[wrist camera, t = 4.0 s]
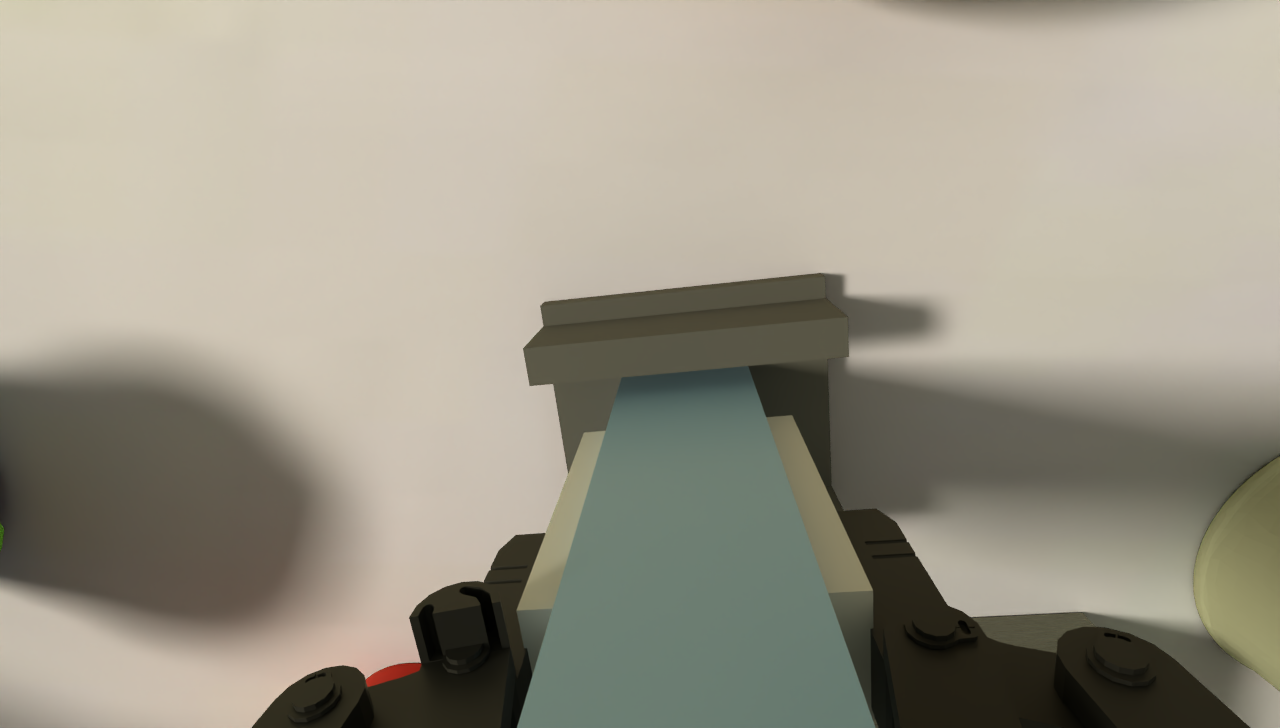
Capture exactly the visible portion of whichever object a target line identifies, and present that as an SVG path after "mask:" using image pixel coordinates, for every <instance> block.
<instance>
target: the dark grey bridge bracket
mask: <svg viewBox="0 0 1280 728" xmlns="http://www.w3.org/2000/svg"><path fill="white" fill-rule="evenodd" d="M540 307H541V313H542V319H543V325H544V327H543V328H542V329H541V330H540V331H539V332H538V333H537V334H536V335H535V336H534V337H533V338H532V340H531V341H530V342H529V343H528V344H527V345H526V346H525V347H524V348H523V351H524V356H525V362H526V368H527V373H528V379H529V384H530V386H534V385H545V384H553V385H554V391H555V397H556V403H557V409H558V415H559V421H560V427H561V433H562V439H563V445H564V451H565V457H566V463H567V469H568V473H569V471H570V468H571V466H572V463H573V460H574V458H575V455H576V452H577V450H578V447H579V444H580V442H581V439H582V437H583V434H584V433H585V432H596V431H606V428H607V425H608V421H609V418H610V414H611V411H612V408H613V404H614V401H615V398H616V394H617V391H618V388H619V384H620V381H621V378H622V377H633V376H644V375H655V374H666V373H677V372H688V371H699V370H710V369H721V368H732V367H742V366H748V367H749V370H750V373H751V376H752V379H753V381H754V384H755V387H756V390H757V393H758V396H759V398H760V401H761V404H762V407H763V410H764V413H765V415H766V417H776V416H788V415H792V416H793V418H794V420H795V423H796V425H797V427H798V429H799V431H800V433H801V436H802V438H803V440H804V442H805V444H806V446H807V449H808V451H809V453H810V455H811V457H812V459H813V462H814V464H815V466H816V468H817V470H818V472H819V475H820V477H821V479H822V481H823V483H824V485H825V487H826V490H827V492H828V494H829V496H830V498H831V500H832V503H833V505H834V507H835V509H836V511H843V509H842V507H841V504H840V502H839V500H838V498H837V496H836V494H835V492H834V490H833V488H832V486H831V457H830V424H829V392H828V360H827V359H830V358H841V357H849V348H848V317H847V316H846V315H845V314H844V313H843V312H841V311H840V310H839V309H838V308H837V307H836V306H834V305H833V304H832V303H831V302H830V301H829V300H827V299H826V295H825V276H824V275H822V274H821V273H817V274H807V275H798V276H788V277H779V278H769V279H759V280H750V281H740V282H731V283H721V284H712V285H702V286H692V287H683V288H673V289H664V290H654V291H645V292H635V293H626V294H616V295H606V296H597V297H587V298H578V299H568V300H559V301H549V302H544V303H543V304H542V305H541V306H540Z"/></svg>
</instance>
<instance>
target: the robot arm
mask: <svg viewBox="0 0 1280 728" xmlns="http://www.w3.org/2000/svg"><path fill="white" fill-rule="evenodd" d="M766 418H767V421H768V424H769V427H770V430H771V432H772V435H773V438H774V441H775V444H776V447H777V449H778V452H779V455H780V458H781V461H782V464H783V467H784V469H785V472H786V475H787V478H788V481H789V484H790V486H791V489H792V492H793V495H794V498H795V501H796V503H797V506H798V509H799V512H800V515H801V518H802V520H803V523H804V526H805V529H806V532H807V535H808V537H809V540H810V543H811V546H812V549H813V552H814V555H815V557H816V560H817V563H818V566H819V569H820V572H821V574H822V577H823V580H824V583H825V586H826V589H827V591H828V594H829V597H830V600H831V603H832V606H833V608H834V611H835V614H836V617H837V620H838V623H839V625H840V628H841V631H842V634H843V637H844V640H845V642H846V645H847V648H848V651H849V654H850V657H851V660H852V662H853V665H854V668H855V671H856V674H857V677H858V679H859V682H860V685H861V688H862V691H863V694H864V696H865V699H866V702H867V705H868V708H869V711H870V713H871V716H872V719H873V722H874V716H875V719H876V722H877V725H878V728H1250V727H1249V726H1248V725H1247V724H1246V723H1244V722H1243V721H1242V720H1241V719H1240V718H1239V717H1238V716H1237V715H1236V714H1234V713H1233V712H1232V711H1231V710H1230V709H1229V708H1228V707H1227V706H1226V705H1225V704H1223V703H1222V702H1221V701H1220V700H1219V699H1218V698H1217V697H1216V696H1215V695H1213V694H1212V693H1211V692H1210V691H1209V690H1208V689H1207V688H1206V687H1205V686H1203V685H1202V684H1201V683H1200V682H1199V681H1198V680H1197V679H1196V678H1195V677H1193V676H1192V675H1191V674H1190V673H1189V672H1188V671H1187V670H1186V669H1185V668H1184V667H1182V666H1181V665H1180V664H1179V663H1178V662H1177V661H1176V660H1175V659H1173V658H1172V657H1171V656H1169V655H1168V654H1166V653H1165V652H1164V651H1162V650H1161V649H1159V648H1158V647H1156V646H1155V645H1154V644H1152V643H1149V642H1147V641H1145V640H1143V639H1140V638H1138V637H1136V636H1134V635H1131V634H1129V633H1125V632H1121V631H1117V630H1113V629H1109V628H1103V627H1080V628H1077V629H1073V630H1069V631H1066V632H1065V633H1064V634H1063V635H1062V636H1061V637H1060V638H1059V639H1058V641H1057V651H1056V653H1054V652H1048V651H1042V650H1037V649H1031V648H1025V647H1020V646H1014V645H1010V644H1006V643H1002V642H998V641H996V640H993V639H991V638H988V637H987V636H986V635H985V633H984V632H983V630H982V629H981V627H980V626H979V624H978V623H977V622H976V621H974V620H973V619H972V618H970V617H969V616H968V615H966V614H965V613H964V612H962V611H960V610H957V609H955V608H952V607H950V606H948V605H947V604H946V602H945V601H944V599H943V597H942V596H941V594H940V592H939V591H938V589H937V588H936V586H935V584H934V583H933V581H932V580H931V578H930V576H929V575H928V573H927V571H926V570H925V568H924V567H923V565H922V563H921V562H920V560H919V559H918V557H916V556H915V552H914V551H913V549H912V547H911V546H910V544H909V542H907V540H906V538H905V536H904V534H903V533H902V531H901V530H900V528H899V526H898V525H897V523H896V522H895V521H893V520H892V519H890V518H889V517H888V516H886V515H885V514H883V513H882V512H880V511H879V510H877V509H864V510H850V511H836V509H835V507H834V505H833V503H832V500H831V498H830V496H829V494H828V492H827V490H826V487H825V485H824V483H823V481H822V479H821V477H820V475H819V472H818V470H817V468H816V466H815V464H814V462H813V459H812V457H811V455H810V453H809V451H808V449H807V446H806V444H805V442H804V440H803V438H802V436H801V433H800V431H799V429H798V427H797V425H796V423H795V420H794V418H793V416H792V415H788V416H776V417H766ZM604 435H605V431H596V432H585V433H584V434H583V437H582V439H581V442H580V444H579V447H578V450H577V452H576V455H575V458H574V460H573V463H572V466H571V468H570V471H569V473H568V476H567V479H566V481H565V484H564V487H563V489H562V492H561V494H560V497H559V500H558V502H557V505H556V508H555V510H554V513H553V516H552V518H551V521H550V523H549V526H548V529H547V531H546V533H540V534H525V535H515V536H514V537H513V538H512V539H511V540H510V541H509V542H508V543H507V544H506V545H504V546H503V547H502V548H501V549H500V550H499V551H498V553H497V555H496V558H495V560H494V562H493V564H492V566H491V571H489V572H488V574H487V576H486V578H485V580H484V583H483V582H479V581H474V582H461V583H457V584H454V585H450V586H447V587H444V588H442V589H440V590H438V591H436V592H434V593H433V594H431V595H429V596H428V597H427V598H425V599H424V600H423V601H422V602H421V603H419V604H418V605H417V606H416V608H415V609H414V611H413V612H412V614H411V616H410V617H409V619H410V622H411V626H412V630H413V634H414V637H415V641H416V645H417V649H418V652H419V656H420V660H421V663H422V664H421V667H420V670H419V671H417V672H414V673H412V674H409V675H406V676H404V677H400V678H397V679H394V680H390V681H387V682H383V683H380V684H377V685H373V686H370V687H367V683H366V680H365V677H364V675H363V674H362V673H361V672H360V671H359V670H358V669H357V668H354V667H349V666H344V665H342V666H335V667H329V668H324V669H322V670H319V671H317V672H314V673H312V674H309V675H307V676H305V677H304V678H302V679H300V680H299V681H297V682H296V683H294V684H292V685H291V686H289V687H288V688H287V689H286V690H285V691H284V692H283V693H282V694H281V695H280V696H279V697H278V698H276V699H275V700H274V702H273V703H272V704H271V705H270V706H269V707H268V709H267V710H266V711H265V712H264V713H263V715H262V716H261V717H260V718H259V719H258V721H257V722H256V723H255V724H254V725H253V727H252V728H517V726H518V723H519V719H520V716H521V713H522V709H523V706H524V703H525V699H526V696H527V693H528V689H529V686H530V682H531V679H532V676H533V672H534V669H535V666H536V662H537V659H538V656H539V652H540V649H541V646H542V642H543V639H544V636H545V632H546V629H547V626H548V622H549V619H550V615H551V612H552V609H553V605H554V602H555V599H556V595H557V592H558V589H559V585H560V582H561V579H562V575H563V572H564V569H565V565H566V562H567V559H568V555H569V552H570V548H571V545H572V542H573V538H574V535H575V532H576V528H577V525H578V522H579V518H580V515H581V512H582V508H583V505H584V502H585V498H586V495H587V492H588V488H589V485H590V481H591V478H592V475H593V471H594V468H595V465H596V461H597V458H598V455H599V451H600V448H601V445H602V441H603V438H604ZM874 725H875V724H874Z"/></svg>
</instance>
